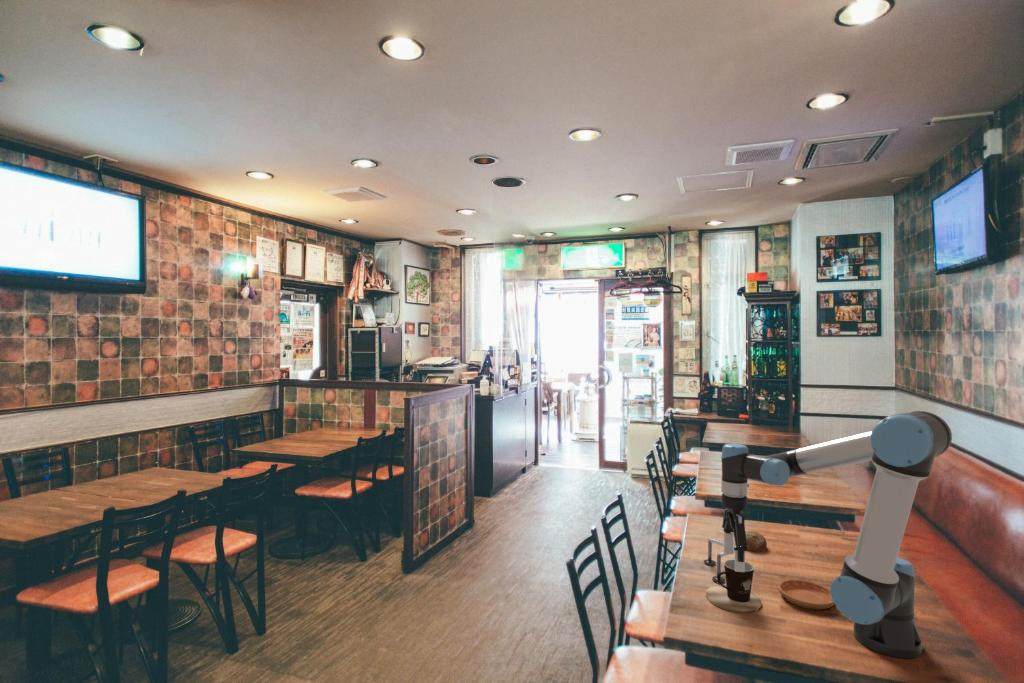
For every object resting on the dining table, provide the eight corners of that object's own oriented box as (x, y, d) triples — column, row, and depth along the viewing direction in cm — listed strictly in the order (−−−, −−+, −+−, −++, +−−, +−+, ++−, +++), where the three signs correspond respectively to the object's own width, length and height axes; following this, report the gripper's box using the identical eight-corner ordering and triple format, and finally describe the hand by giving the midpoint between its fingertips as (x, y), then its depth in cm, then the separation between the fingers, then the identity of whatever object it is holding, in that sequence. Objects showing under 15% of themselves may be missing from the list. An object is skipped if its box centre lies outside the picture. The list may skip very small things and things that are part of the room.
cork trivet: (768, 614, 159) (768, 612, 159) (712, 610, 161) (712, 607, 161) (752, 589, 175) (752, 587, 175) (701, 585, 177) (701, 583, 177)
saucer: (820, 618, 157) (820, 608, 157) (768, 596, 171) (768, 587, 171) (846, 604, 166) (846, 594, 166) (795, 583, 179) (795, 575, 179)
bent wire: (751, 585, 177) (752, 558, 177) (713, 582, 179) (714, 555, 179) (737, 562, 195) (737, 538, 195) (703, 560, 197) (703, 536, 197)
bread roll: (737, 551, 215) (730, 534, 214) (756, 538, 217) (749, 521, 216) (755, 561, 205) (748, 544, 204) (774, 547, 208) (767, 530, 207)
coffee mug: (748, 591, 171) (748, 560, 171) (757, 605, 163) (758, 572, 163) (710, 589, 173) (710, 558, 173) (718, 602, 164) (718, 570, 164)
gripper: (759, 507, 155) (758, 580, 155) (736, 484, 179) (736, 547, 179) (731, 505, 156) (731, 578, 156) (713, 483, 180) (712, 546, 181)
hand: (733, 562), depth 168 cm, fingers open, 13 cm apart
